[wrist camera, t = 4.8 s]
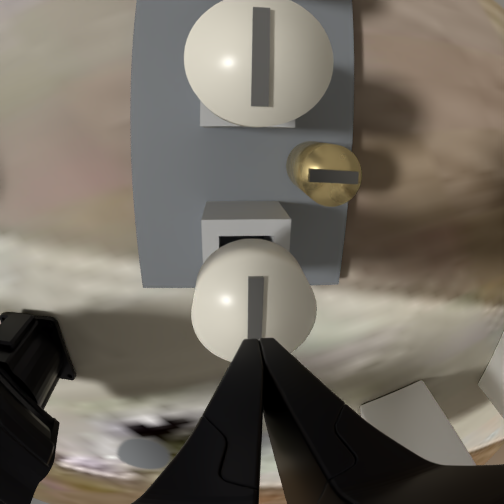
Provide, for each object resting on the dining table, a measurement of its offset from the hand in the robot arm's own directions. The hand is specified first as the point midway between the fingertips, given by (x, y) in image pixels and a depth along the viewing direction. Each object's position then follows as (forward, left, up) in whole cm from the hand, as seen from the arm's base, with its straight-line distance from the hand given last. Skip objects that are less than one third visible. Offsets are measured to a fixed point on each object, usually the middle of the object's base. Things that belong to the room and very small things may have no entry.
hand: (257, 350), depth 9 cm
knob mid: (+8, 0, -8) cm, 11 cm away
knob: (0, 0, -8) cm, 8 cm away
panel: (+8, 0, -12) cm, 15 cm away
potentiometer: (+4, -4, -11) cm, 13 cm away
